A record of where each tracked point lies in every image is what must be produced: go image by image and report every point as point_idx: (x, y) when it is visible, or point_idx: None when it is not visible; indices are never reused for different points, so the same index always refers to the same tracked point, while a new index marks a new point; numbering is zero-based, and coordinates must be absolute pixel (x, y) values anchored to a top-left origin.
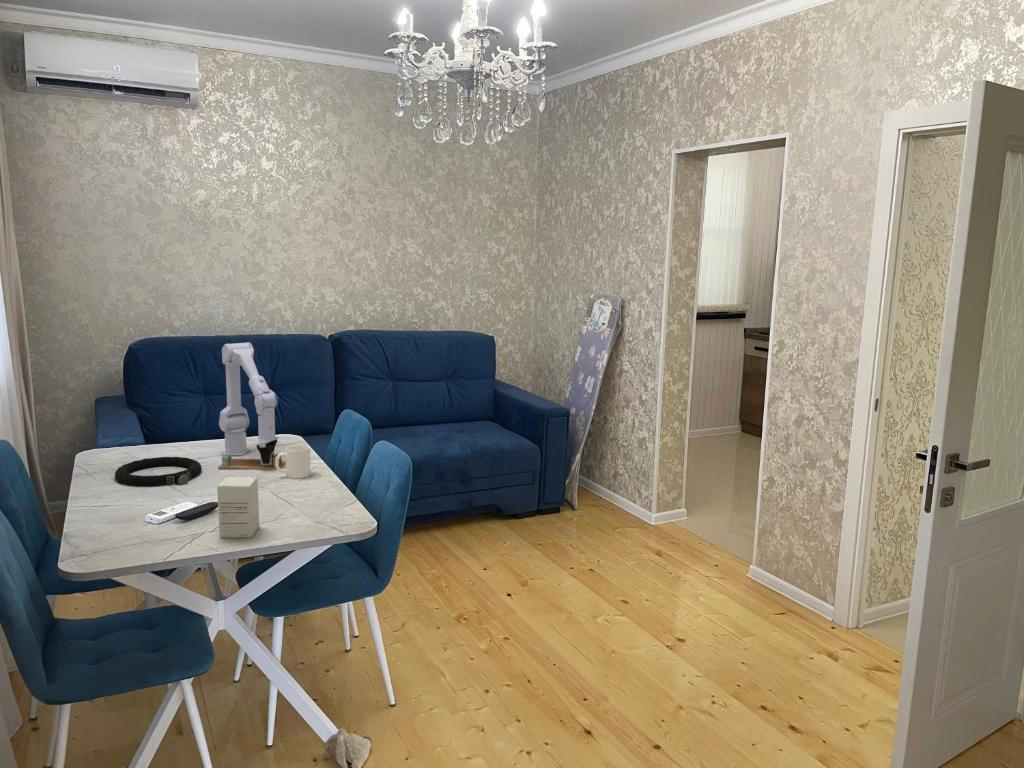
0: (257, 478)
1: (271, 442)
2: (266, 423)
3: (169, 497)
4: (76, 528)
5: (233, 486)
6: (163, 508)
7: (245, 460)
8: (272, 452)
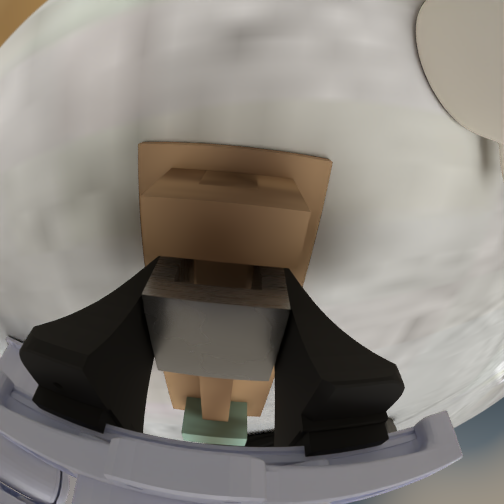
0: None
1: (113, 394)
2: None
3: (456, 399)
4: (483, 409)
5: None
6: (496, 380)
7: (232, 385)
8: (239, 304)
